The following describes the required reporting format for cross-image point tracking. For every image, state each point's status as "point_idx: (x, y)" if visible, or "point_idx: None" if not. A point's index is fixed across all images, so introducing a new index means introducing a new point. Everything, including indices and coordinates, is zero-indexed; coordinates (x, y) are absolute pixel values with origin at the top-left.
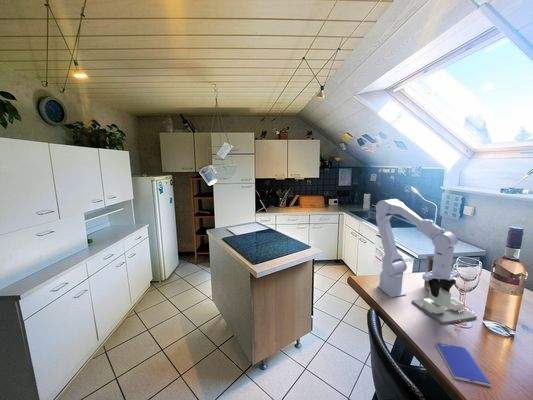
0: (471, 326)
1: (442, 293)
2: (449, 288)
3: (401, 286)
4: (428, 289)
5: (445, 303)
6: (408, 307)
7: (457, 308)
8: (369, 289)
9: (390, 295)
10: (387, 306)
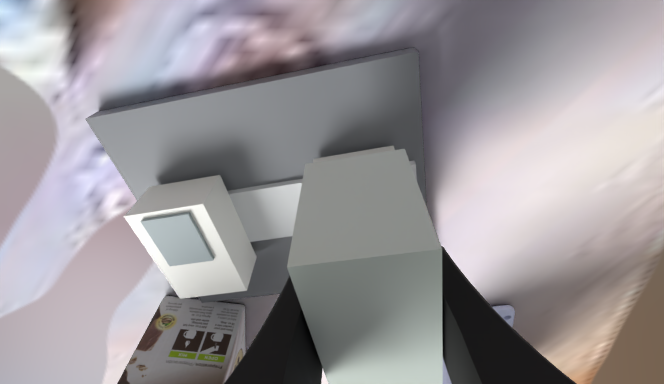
0: (187, 22)
1: (424, 274)
2: (262, 355)
3: (447, 372)
4: (244, 346)
5: (367, 170)
6: (489, 225)
7: (194, 186)
8: (568, 354)
9: (513, 314)
10: (620, 236)
